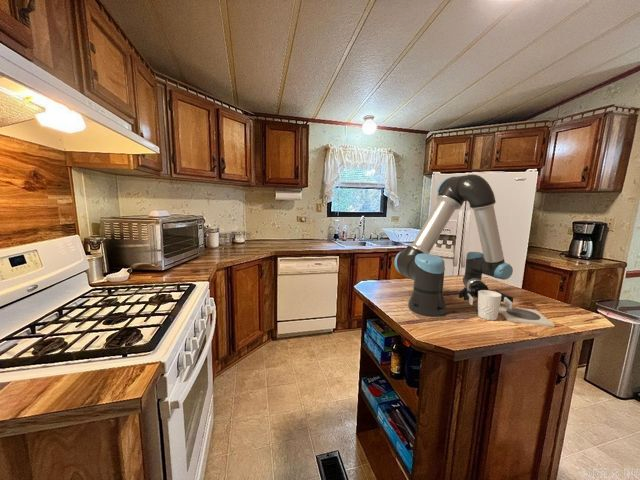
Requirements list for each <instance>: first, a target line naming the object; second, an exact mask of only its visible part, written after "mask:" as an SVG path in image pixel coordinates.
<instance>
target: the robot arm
mask: <svg viewBox="0 0 640 480" xmlns="http://www.w3.org/2000/svg"><path fill="white" fill-rule="evenodd" d="M436 191H437V193H436V194H437V196H436V201H437V202H436V204H435V206H434V208H433V209H432V210H431V213H430V214H429V216H428V218H427V219H426V221H425V223H423V226H422V228H421V229H420V231H419V232H418V233H417V235H416V236H415V239H414V240H413V242H412V243H411V244H408V245H407V246H406V248H405V249H404V250H402V251H399V252H398V253H397V254H396V256H395V258H394V261H393V262H394V268H395V270H396V271H397V272H398V274H400V275H402V276H404V277H406V278H408V279H411V280H413V290H412V292H411V294H410V297H409V299H408V304H407V305H408V306H407V307H409V308H408V309H409V310H410V311H411V310H412V311H411V312H413V313H416V314H418V315H423V316H426V317H427V316H428V317H441V316H444V315H445V314H446V313H447V306H446V303H445V302H446V301H445V299H444V295H443V291H444V281H445V271H446V268H445V260H444V259H443V258H442V257H441V256H438V255H436V254H431V253H430V252H431V251H432V250H433V247H434V246H435V244H436V242H437V240H438V239H439V238H440V235H442V233H443V231H444V229H445V227H446V226H447V225H448V222H449V221H450V219H451V217H452V216H453V214H454V212H455V211H457V210H460V209H461V207H462V206H463V204H464V203H465V202H468V204H469V207H470V208H469V209H471V210H473V215H474V218H475V223H476V226H477V227H476V228H477V232H478V236H479V237H478V238H479V240H480V245H481V250H482V252H480V251H468V252H466V259H465V267H464V270H465V271H464V275H463V277H462V282H463V283H462V284H463V285H464V287H463V289H462V290H460V291H458V298H460V299H462V298H463V301H467V302H468V304H469V305H470V306H473V305H474V304H473V303H474V298H477V299H478V291H480V290H488V291H492V290H490V289H489V287H488V286H487V285H486V283H485V282H484V281H483V280H482V279H483V277H482V276H483V275H486V276H489V277H491V278H494V279H499V280H508V279H510V278H511V277H512V275H513V272H514V268H513V266H512V265H511V264H510V263H507V262H506V261H505V256H504V251H503V247H502V241H501V237H500V236H501V235H500V232H499V226H498V223H497V222H498V221H497V217H496V212H495V211H496V210H495V207H494V206H495V204H496V203H497V202H496V196H495V194H494V190H493V189H492V187H491V185H490V184H489V182H488V181H487V180H486V179H485V178H484V177H482V176H481V175H477V174H473V173H471V174H466V175H459V176H450V177H446V178H445V179H443V180H442V181H440V183H439V184H438V186H437V190H436ZM494 292H497V293H500V294H501V295H502V296H501V302H502V303H503V304H504V306H506V307H508V308H509V309H512V307H513V304H514V297H513V296H510V295H509V294H506V293H503V292H501V291H498V290H497V289H495V290H494ZM501 302H500V303H501Z"/></svg>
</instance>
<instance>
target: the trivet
mask: <svg viewBox="0 0 640 480" xmlns="http://www.w3.org/2000/svg"><path fill="white" fill-rule="evenodd" d="M499 313H500V314H501V315H502V317H504V318H505V320H506V321H507V322H512V323H513V322H515V323H521V324H531V325H536V326H537V325H538V326H546V327H555V324H554V323H553V322H552V321H551V320H550V319H548V318H547V317H546V316H544V315H543V314H542V313H540V311H538V310H537V309H533V308H532V309H531V308H521V307H513V306H512V309H509V308H508V307H507V306H506V305H500V308H499Z"/></svg>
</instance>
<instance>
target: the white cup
mask: <svg viewBox="0 0 640 480" xmlns="http://www.w3.org/2000/svg"><path fill="white" fill-rule="evenodd" d="M501 296H502V295H501V294H500V293H497V292H495V290H494V291H493V290H491V291H488V290H480V291H478V298H477V316H478V317H479V318H480V319H483V320H487V321H497V320H498V319H499V317H498V316H499V313H500V312H499V308H500V306H501Z"/></svg>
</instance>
